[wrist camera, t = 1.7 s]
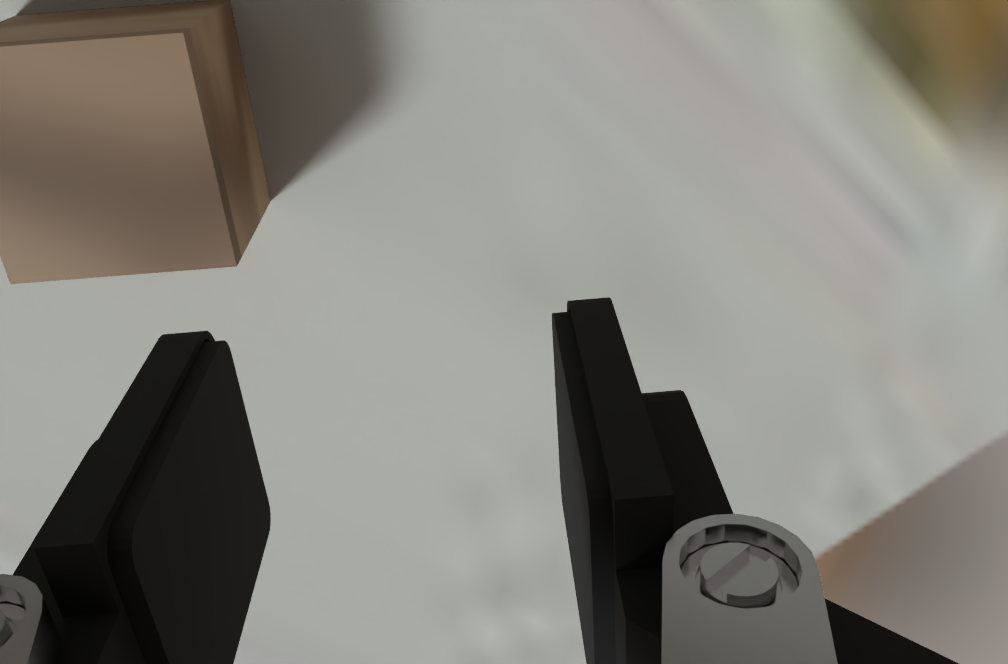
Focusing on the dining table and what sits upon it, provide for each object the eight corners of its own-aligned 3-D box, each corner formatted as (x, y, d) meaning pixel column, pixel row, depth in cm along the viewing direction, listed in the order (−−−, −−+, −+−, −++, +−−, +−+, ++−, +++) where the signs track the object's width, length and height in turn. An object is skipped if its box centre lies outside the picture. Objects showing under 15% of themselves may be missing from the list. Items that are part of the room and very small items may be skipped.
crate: (17, 14, 26) (-75, 52, 21) (230, -2, 26) (182, 32, 21) (80, 214, 28) (10, 284, 24) (271, 199, 28) (236, 266, 24)
